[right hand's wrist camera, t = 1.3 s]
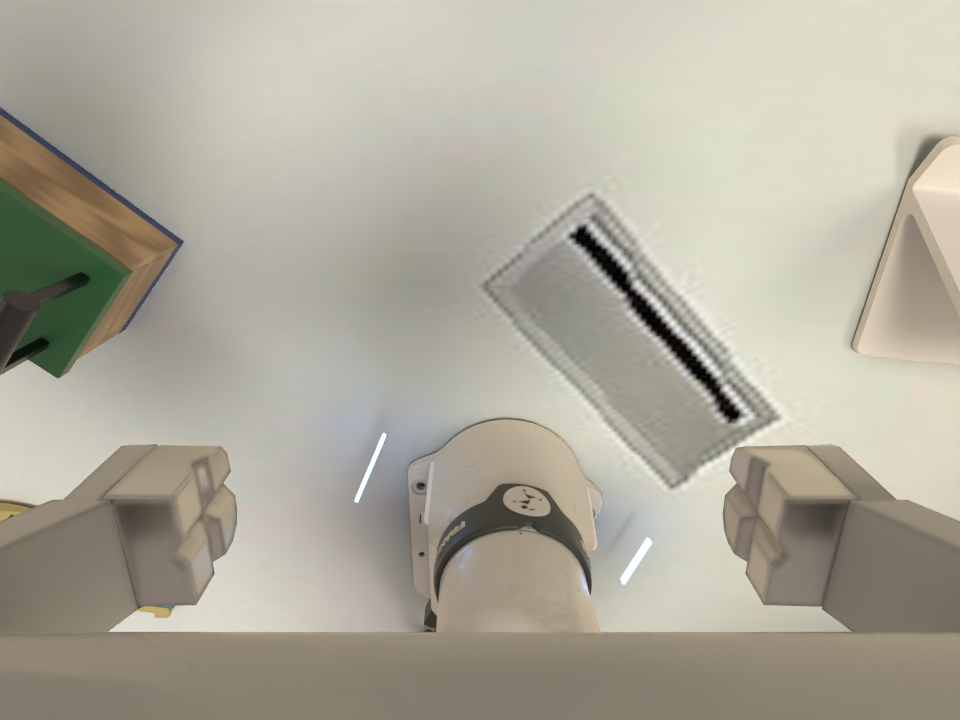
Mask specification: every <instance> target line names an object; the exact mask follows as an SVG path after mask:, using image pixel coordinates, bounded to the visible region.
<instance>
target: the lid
mask: <svg viewBox="0 0 960 720" xmlns="http://www.w3.org/2000/svg"><path fill="white" fill-rule="evenodd" d="M132 273H133V271H132V270H131V269H129V268H128V267H127V266H125V265H124V264H122V263H121V262H119V261H118V260H117V259H115V258H114V257H112V256H111V255H109V254H108V253H107V252H105V251H104V250H102V249H101V248H99V247H98V246H97V245H95V244H94V243H92V242H91V241H89V240H88V239H87V238H85V237H84V236H82V235H81V234H80V233H78V232H77V231H75V230H74V229H72V228H71V227H70V226H68V225H67V224H65V223H64V222H62V221H61V220H60V219H58V218H57V217H55V216H54V215H52V214H51V213H50V212H48V211H47V210H45V209H44V208H42V207H41V206H40V205H38V204H37V203H35V202H34V201H32V200H31V199H30V198H28V197H27V196H25V195H24V194H22V193H21V192H20V191H18V190H17V189H15V188H14V187H13V186H11V185H10V184H8V183H7V182H5V181H4V180H3V179H1V178H0V375H1V374H3V373H5V372H6V371H8V370H10V369H12V368H14V367H15V366H17V365H19V364H21V363H22V362H24V361H26V360H30V361H31V362H33V363H34V364H36V365H38V366H39V367H41V368H42V369H44V370H46V371H47V372H49V373H50V374H52V375H53V376H55V377H57V378H60V377H61V376H63V375H64V374H66V373H68V372H69V371H70V369H71V367H72V366H73V364H74V363H75V361H76V360H77V358H78V357H79V355H80V354H81V352H82V350H83V349H84V347H85V346H86V344H87V343H88V341H89V340H90V338H91V337H92V335H93V333H94V332H95V330H96V329H97V327H98V326H99V324H100V323H101V321H102V320H103V318H104V316H105V315H106V313H107V312H108V310H109V309H110V307H111V306H112V304H113V303H114V301H115V299H116V298H117V296H118V295H119V293H120V292H121V290H122V289H123V287H124V286H125V284H126V283H127V281H128V279H129V278H130V276H131V275H132Z"/></svg>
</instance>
